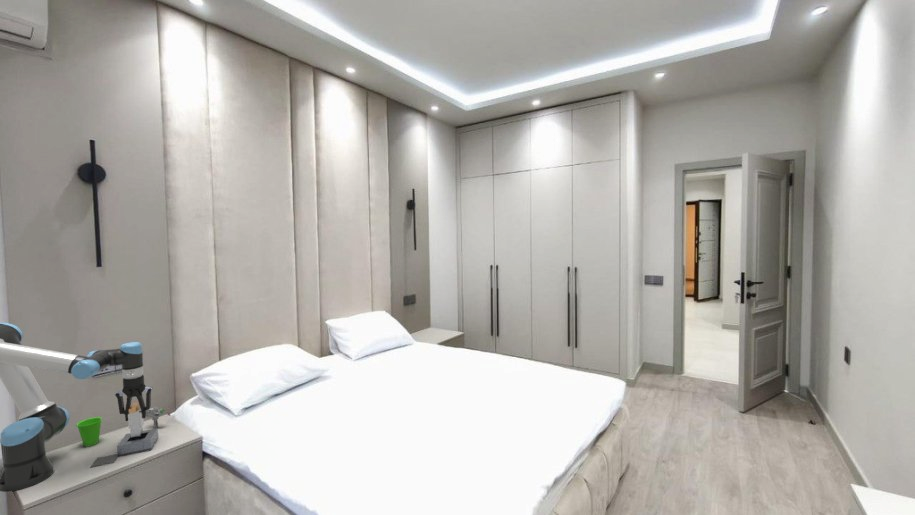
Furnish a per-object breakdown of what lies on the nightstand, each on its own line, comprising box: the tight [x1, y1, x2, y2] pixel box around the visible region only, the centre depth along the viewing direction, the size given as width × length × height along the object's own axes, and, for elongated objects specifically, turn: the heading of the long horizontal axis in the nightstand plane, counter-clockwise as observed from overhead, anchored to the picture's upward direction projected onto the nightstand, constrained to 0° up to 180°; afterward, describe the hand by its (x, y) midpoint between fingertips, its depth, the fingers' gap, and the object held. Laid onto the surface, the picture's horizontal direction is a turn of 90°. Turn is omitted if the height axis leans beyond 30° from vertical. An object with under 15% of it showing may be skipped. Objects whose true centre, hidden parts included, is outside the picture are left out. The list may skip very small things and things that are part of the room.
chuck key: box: [129, 401, 144, 437], centre depth 182 cm, size 4×8×14 cm, turn 25°
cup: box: [76, 416, 103, 447], centre depth 187 cm, size 9×9×11 cm
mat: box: [89, 453, 119, 469], centre depth 173 cm, size 8×8×1 cm
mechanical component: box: [146, 406, 165, 429], centre depth 202 cm, size 3×10×10 cm, turn 78°
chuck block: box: [116, 427, 159, 458], centre depth 183 cm, size 12×12×5 cm
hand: (136, 426), depth 183 cm, fingers closed on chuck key, 3 cm apart
